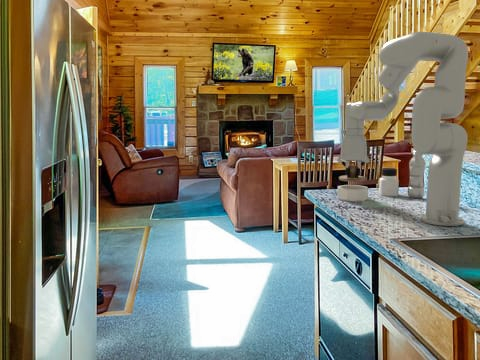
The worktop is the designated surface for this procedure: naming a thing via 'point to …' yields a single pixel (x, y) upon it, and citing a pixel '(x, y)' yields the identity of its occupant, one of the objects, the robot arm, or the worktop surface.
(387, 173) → the medicine bottle
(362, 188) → the bowl
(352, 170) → the lid
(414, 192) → the plastic bottle
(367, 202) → the mat
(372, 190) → the worktop surface
